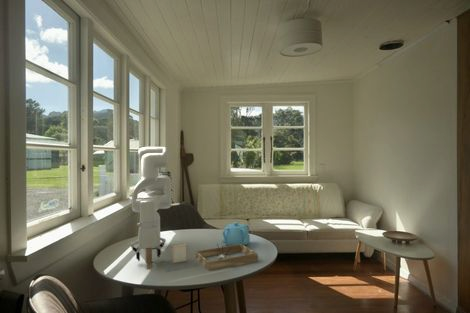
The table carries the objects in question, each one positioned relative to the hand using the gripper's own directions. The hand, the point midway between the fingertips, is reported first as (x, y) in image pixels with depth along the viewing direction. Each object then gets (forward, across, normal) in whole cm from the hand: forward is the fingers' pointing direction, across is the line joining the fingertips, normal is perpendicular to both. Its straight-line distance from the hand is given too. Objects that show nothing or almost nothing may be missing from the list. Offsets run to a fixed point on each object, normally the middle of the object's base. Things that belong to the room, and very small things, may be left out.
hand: (148, 258), depth 147 cm
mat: (+2, +13, -11) cm, 17 cm away
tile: (+2, +14, -7) cm, 16 cm away
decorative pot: (+3, +52, +6) cm, 52 cm away
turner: (+3, 0, -4) cm, 5 cm away
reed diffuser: (+3, +36, -14) cm, 39 cm away
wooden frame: (+2, +36, -15) cm, 39 cm away
